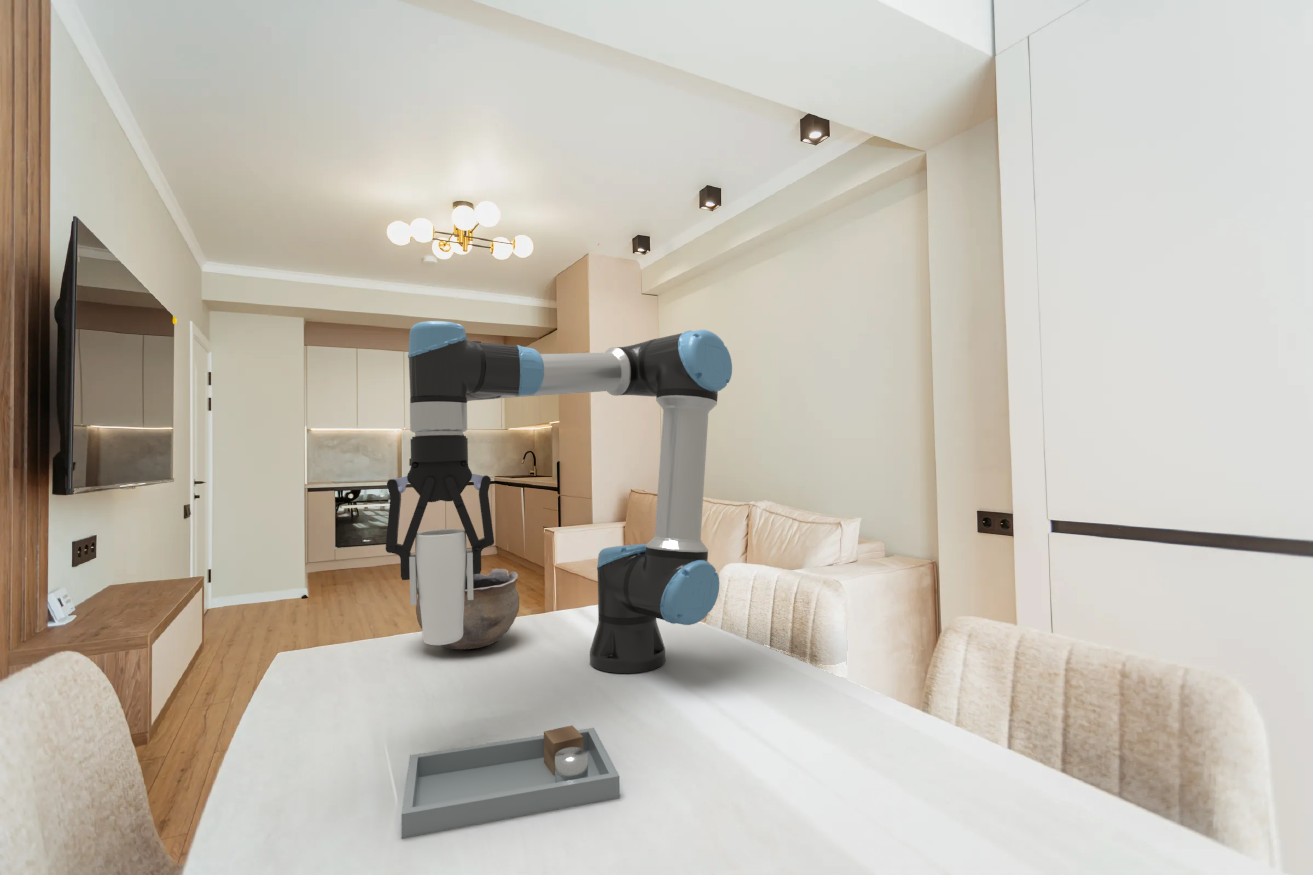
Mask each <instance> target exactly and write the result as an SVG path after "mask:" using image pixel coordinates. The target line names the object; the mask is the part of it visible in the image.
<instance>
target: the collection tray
mask: <svg viewBox="0 0 1313 875" xmlns="http://www.w3.org/2000/svg"><path fill="white" fill-rule="evenodd" d="M576 730H577V731H578V732H579V733H580V734H581V735H582V736H583V749H585V750H586V751H587V752H588V777H586V778H580V779H574V780H568V781H563V782H557V783H555V775H553V774H552V773H551V771H550V770H549V769H548V767H547V766H546V764H545V763H544V734H543V735H542V734H541V735H537V736H536V735H534V736H529V737H522V738H515V739H509V740H502V741H495V742H490V743H489V742H487V743H482V744H474V745H468V746H461V747H460V746H459V747H455V748H454V747H453V748H448V749H441V750H440V749H439V750H435V751H426V752H421V753H414V754H409V760H408V767H407V772H406V773H407V774H406V780H405V788H404V789H405V790H404V794H403V802H402V809H401V839H406V838H412V837H416V836H421V835H427V834H432V833H433V834H434V833H440V832H444V831H448V830H454V829H455V830H456V829H459V828H466V827H471V826H477V825H481V824H486V823H492V822H498V821H502V820H508V819H514V818H518V817H524V816H529V815H530V816H531V815H535V814H540V813H546V812H551V811H552V812H553V811H556V810H563V809H567V808H571V807H578V806H583V805H589V804H595V803H600V802H605V801H611V800H615V799H620V791H621V790H620V774H619V773H618V771H617V769H616V767H615V765H614V763H613V761H612V759H611V757H610V756H609V753H608V752H607V750H606V748H605V746H604V744H603V742H602V740H601V738H600V736H599V734H598V733H597V731H596V729H595V727H590V728H582V729H576Z"/></svg>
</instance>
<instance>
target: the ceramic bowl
mask: <svg viewBox="0 0 1313 875" xmlns="http://www.w3.org/2000/svg"><path fill="white" fill-rule="evenodd" d="M518 577H519V574H518V573H517V571H510V573H509V570H508V569H506V568H493V569H491V571H490V572H489V573H488V574H485V573H484V574H483V573H482V572H480V574H473V599H474V600H468V597H467V568H466V583H465V598H464V616H463V636H462V638H461V639H460V640H458V641H456V642H454V643H451V644H446V645H439V646H440V647H443V648H445V649H450V650H472V649H479V648H484V647H487V646H490V645H493V644H494V643H496V642H498V641H499V640H500V639H501V638H502V637H503V636H504V635H505V634H507V632H508V631H509V630H510V628H511V627H512V626H513V624H514V623H515V620H516V618H517V617H518V614H519V611H520V595H519V593H518V590H517V587H516V586H517V581H518ZM415 613H416V619H417V623H418V625H419V628H421V630H422V618H421V609H420V600H419V591H418V582H417V604H416V605H415Z"/></svg>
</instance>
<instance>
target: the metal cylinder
mask: <svg viewBox="0 0 1313 875" xmlns="http://www.w3.org/2000/svg"><path fill="white" fill-rule="evenodd" d="M586 777H588V752H587V751H586V750H585V749H583V748H578V747H569V748H564V749H562V750H560V751H558V752H557V753H556V754H555V783H557V782H563V781H568V780H574V779H580V778H586Z"/></svg>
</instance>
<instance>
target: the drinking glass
mask: <svg viewBox="0 0 1313 875" xmlns="http://www.w3.org/2000/svg"><path fill="white" fill-rule="evenodd" d="M414 542H415V543H414V544H415V545H414V554H415V556H416V573H417V582H418V591H419V600H420V609H421V618H422V629H421V631H422V634H421V636H422V640H423V642H424V644H427V645H431V646H440V645H446V644H451V643H454V642H456V641H458V640H460V639H461V638H462V636H463V616H464V598H465V583H466V569H467V550H468V547H467V545H468V543H467V534H466V532H465V529H463V528H462V529H461V528H444V529H442V528H441V529H433V530H432V529H431V530H423V531H420V532H417V534H416V537H415V540H414Z"/></svg>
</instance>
